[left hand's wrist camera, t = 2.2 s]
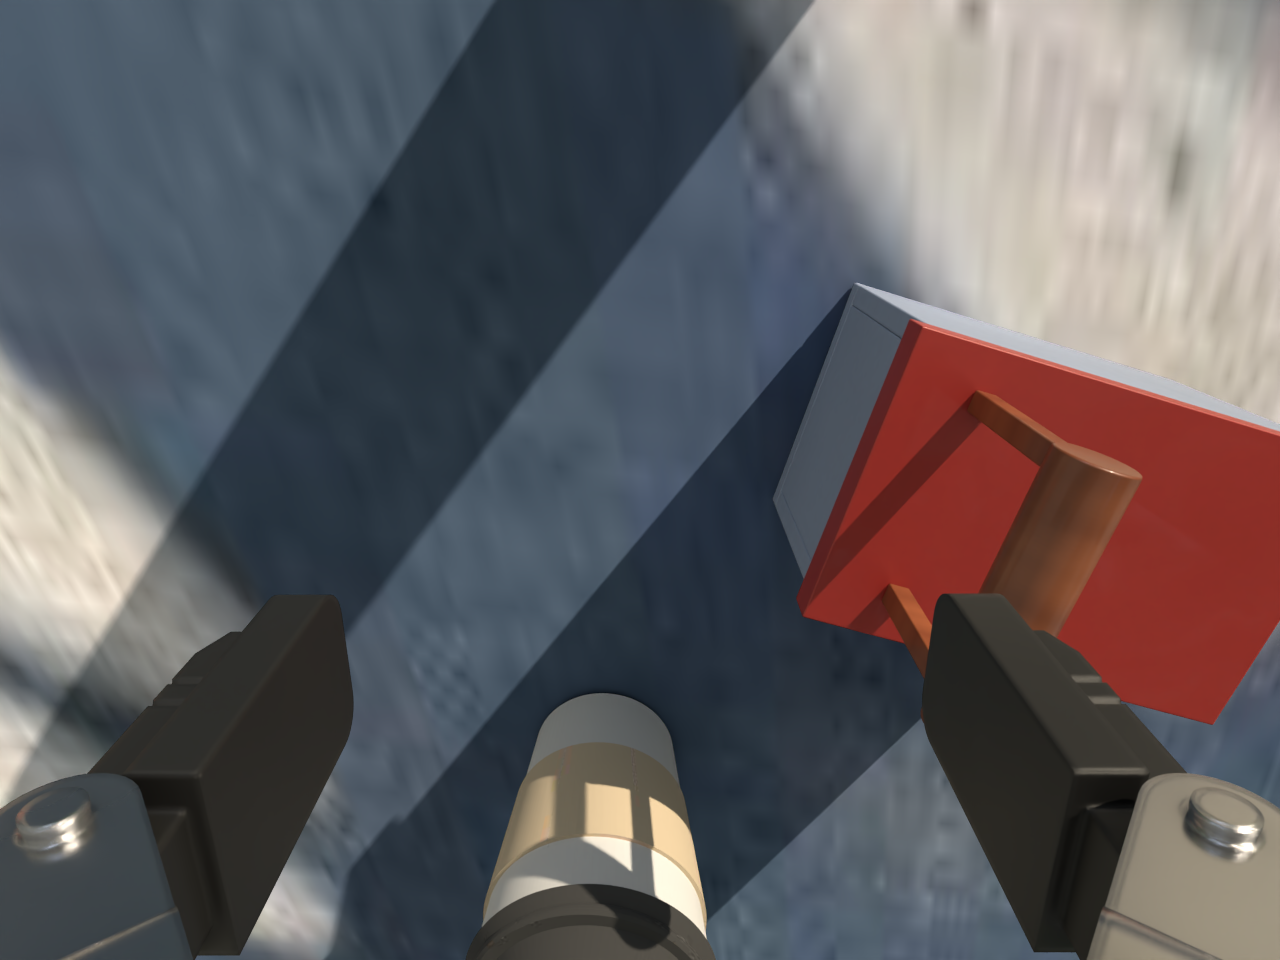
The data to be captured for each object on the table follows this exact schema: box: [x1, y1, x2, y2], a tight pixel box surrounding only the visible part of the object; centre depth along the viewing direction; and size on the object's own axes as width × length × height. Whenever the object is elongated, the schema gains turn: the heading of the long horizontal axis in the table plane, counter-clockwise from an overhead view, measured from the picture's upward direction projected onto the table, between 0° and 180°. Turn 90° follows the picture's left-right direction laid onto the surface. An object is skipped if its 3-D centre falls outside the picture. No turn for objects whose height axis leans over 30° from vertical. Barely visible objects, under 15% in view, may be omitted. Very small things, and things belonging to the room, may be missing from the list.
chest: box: [773, 283, 1280, 579], centre depth 32 cm, size 14×10×9 cm
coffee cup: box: [466, 693, 716, 960], centre depth 35 cm, size 9×9×15 cm
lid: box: [796, 319, 1280, 725], centre depth 24 cm, size 15×10×8 cm, turn 74°
